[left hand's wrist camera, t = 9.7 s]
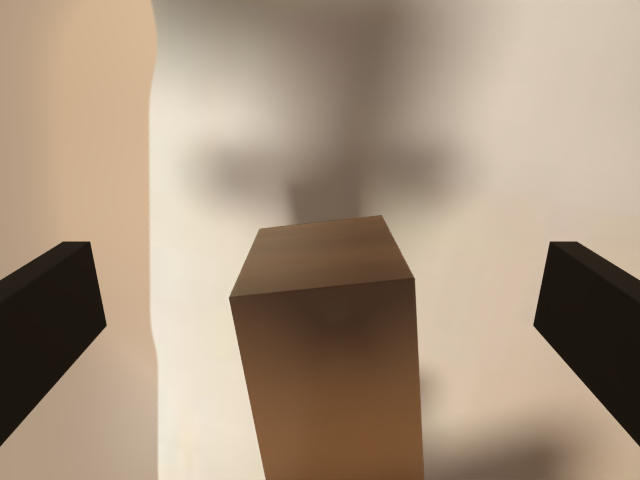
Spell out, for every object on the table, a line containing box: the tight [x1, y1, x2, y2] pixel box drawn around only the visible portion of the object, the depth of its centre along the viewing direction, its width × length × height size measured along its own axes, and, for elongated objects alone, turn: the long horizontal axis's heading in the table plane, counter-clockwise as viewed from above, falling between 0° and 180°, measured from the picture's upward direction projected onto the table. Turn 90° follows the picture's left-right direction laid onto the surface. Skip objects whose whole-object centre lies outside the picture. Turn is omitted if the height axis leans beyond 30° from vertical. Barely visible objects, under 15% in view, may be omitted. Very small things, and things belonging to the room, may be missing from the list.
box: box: [229, 215, 424, 480], centre depth 24 cm, size 24×7×9 cm, turn 6°
